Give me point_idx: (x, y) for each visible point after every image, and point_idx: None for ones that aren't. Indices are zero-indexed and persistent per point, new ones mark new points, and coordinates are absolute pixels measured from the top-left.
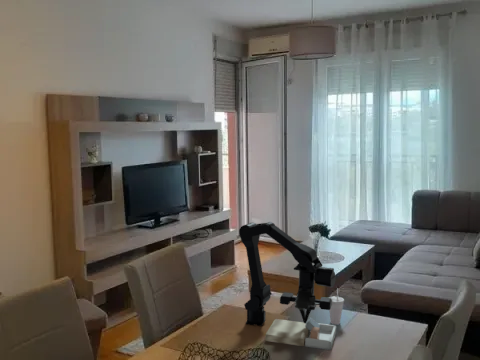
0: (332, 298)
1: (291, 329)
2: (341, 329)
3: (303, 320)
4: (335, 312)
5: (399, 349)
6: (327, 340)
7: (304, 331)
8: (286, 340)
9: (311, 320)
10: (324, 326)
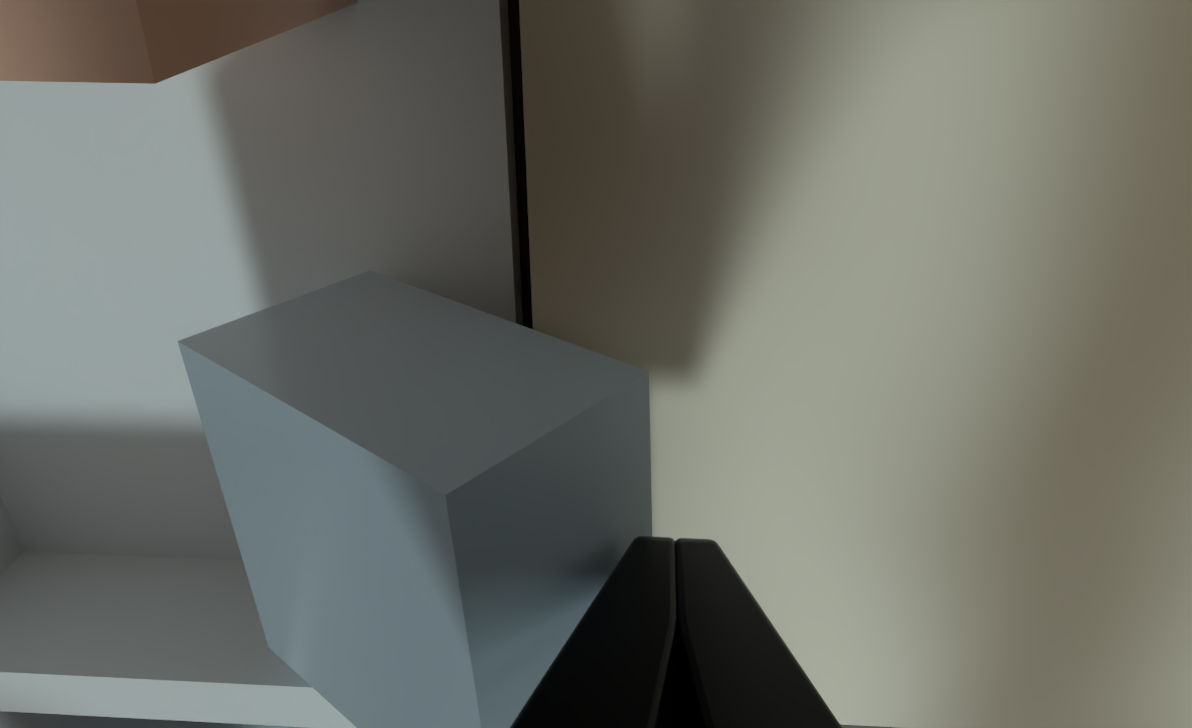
0: None
1: (1156, 158)
2: (7, 719)
3: (740, 602)
4: None
5: None
6: None
7: (634, 135)
8: None
9: (429, 672)
10: (180, 641)
